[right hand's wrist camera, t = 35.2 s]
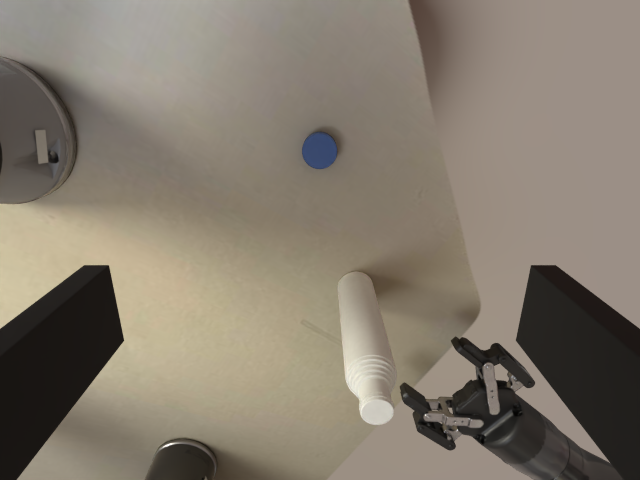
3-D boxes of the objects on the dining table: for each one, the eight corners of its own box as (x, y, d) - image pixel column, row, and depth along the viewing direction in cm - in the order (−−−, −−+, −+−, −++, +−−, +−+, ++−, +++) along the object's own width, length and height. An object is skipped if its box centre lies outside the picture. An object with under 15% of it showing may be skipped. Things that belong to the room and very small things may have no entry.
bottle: (336, 272, 50) (346, 391, 31) (372, 269, 50) (405, 387, 30) (339, 304, 52) (350, 436, 32) (374, 301, 52) (407, 432, 32)
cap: (334, 167, 45) (334, 170, 44) (301, 163, 45) (300, 166, 44) (338, 133, 44) (339, 135, 42) (304, 129, 44) (304, 131, 42)
